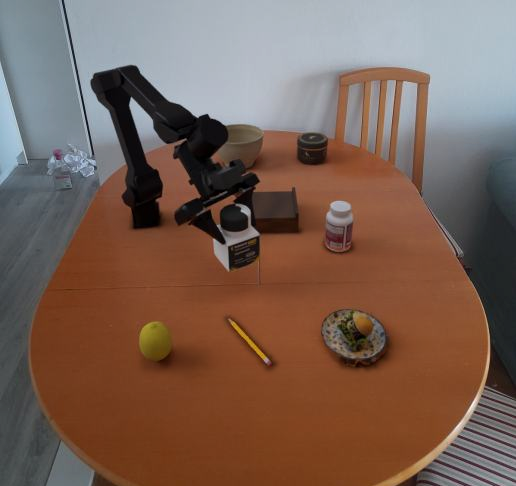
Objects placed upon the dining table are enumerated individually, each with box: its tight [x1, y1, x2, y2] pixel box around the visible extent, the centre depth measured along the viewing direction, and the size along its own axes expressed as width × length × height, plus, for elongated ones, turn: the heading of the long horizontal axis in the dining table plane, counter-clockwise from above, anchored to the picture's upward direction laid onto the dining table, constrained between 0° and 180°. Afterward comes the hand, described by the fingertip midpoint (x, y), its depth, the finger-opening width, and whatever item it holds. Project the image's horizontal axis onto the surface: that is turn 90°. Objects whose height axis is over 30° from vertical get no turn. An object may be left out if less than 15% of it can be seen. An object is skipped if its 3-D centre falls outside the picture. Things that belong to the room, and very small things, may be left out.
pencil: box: [228, 318, 273, 367], centre depth 81 cm, size 1×13×1 cm, turn 36°
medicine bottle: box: [212, 203, 261, 273], centre depth 89 cm, size 7×7×12 cm
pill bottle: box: [324, 200, 354, 253], centre depth 104 cm, size 6×6×11 cm
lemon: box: [138, 321, 173, 362], centre depth 77 cm, size 6×6×8 cm
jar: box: [296, 131, 329, 165], centre depth 146 cm, size 10×10×8 cm
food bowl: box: [320, 308, 388, 367], centre depth 80 cm, size 12×12×8 cm
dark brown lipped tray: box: [252, 186, 300, 234], centre depth 115 cm, size 12×13×6 cm
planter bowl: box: [216, 123, 265, 169], centre depth 143 cm, size 16×16×11 cm
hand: (240, 234), depth 88 cm, fingers closed on medicine bottle, 8 cm apart
